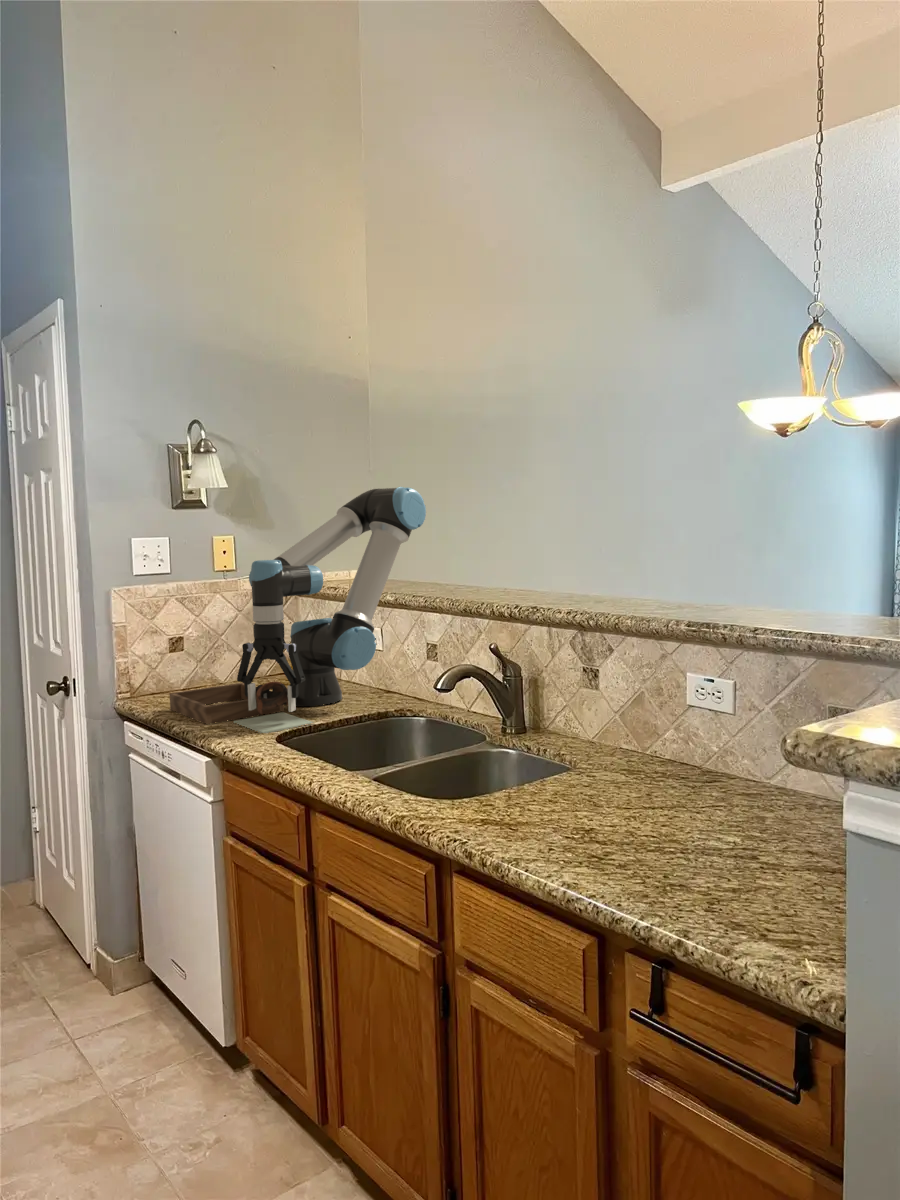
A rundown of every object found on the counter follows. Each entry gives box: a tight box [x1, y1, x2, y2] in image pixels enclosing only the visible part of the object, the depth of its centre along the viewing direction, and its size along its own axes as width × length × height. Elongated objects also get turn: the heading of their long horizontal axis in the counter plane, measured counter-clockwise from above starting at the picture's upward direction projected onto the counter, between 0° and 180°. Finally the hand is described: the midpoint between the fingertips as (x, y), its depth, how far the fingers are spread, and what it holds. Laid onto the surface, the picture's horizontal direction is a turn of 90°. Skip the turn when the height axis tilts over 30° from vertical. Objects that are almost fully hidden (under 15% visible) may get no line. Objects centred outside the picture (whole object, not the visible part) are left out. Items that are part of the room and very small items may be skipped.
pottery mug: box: [256, 681, 288, 714], centre depth 226 cm, size 12×10×8 cm
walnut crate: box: [169, 682, 285, 725], centre depth 242 cm, size 24×22×4 cm
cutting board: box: [233, 711, 315, 734], centre depth 226 cm, size 16×14×1 cm
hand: (272, 710), depth 225 cm, fingers closed on pottery mug, 10 cm apart
